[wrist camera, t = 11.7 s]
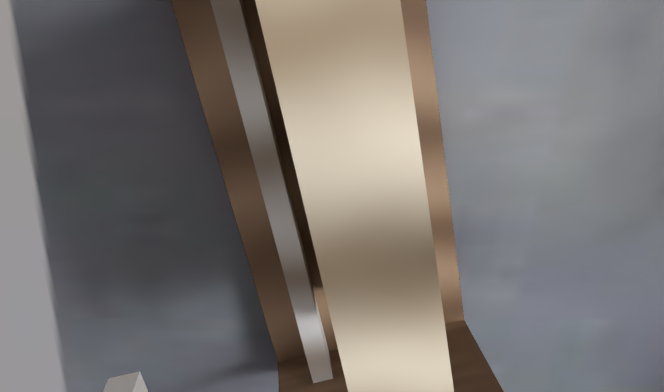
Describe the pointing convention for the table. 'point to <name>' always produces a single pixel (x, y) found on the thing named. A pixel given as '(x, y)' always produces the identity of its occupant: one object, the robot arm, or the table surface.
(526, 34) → the table surface
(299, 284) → the wooden rack
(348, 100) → the door panel
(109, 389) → the robot arm
